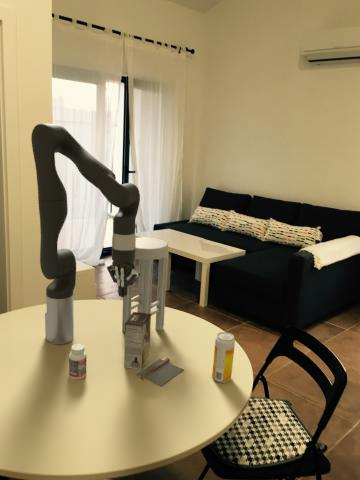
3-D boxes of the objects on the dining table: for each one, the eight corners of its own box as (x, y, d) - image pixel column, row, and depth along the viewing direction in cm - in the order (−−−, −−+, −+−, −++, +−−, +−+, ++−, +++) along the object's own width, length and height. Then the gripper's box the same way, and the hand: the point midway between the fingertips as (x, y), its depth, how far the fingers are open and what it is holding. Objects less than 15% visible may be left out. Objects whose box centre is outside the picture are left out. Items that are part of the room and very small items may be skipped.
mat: (136, 374, 143) (136, 373, 143) (159, 359, 153) (159, 358, 153) (161, 386, 138) (161, 385, 138) (183, 370, 148) (183, 369, 147)
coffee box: (131, 353, 156) (133, 310, 151) (149, 356, 155) (151, 313, 150) (123, 367, 147) (124, 322, 143) (142, 370, 146) (144, 325, 142)
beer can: (232, 375, 146) (237, 333, 142) (228, 385, 141) (232, 342, 136) (214, 371, 148) (218, 329, 144) (209, 380, 142) (213, 338, 138)
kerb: (140, 378, 141) (140, 375, 141) (167, 360, 152) (167, 357, 152) (143, 380, 141) (143, 376, 140) (169, 361, 152) (169, 358, 151)
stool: (170, 328, 175) (176, 242, 166) (147, 343, 163) (151, 251, 153) (139, 317, 183) (142, 234, 174) (114, 331, 171) (116, 242, 161)
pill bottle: (80, 381, 138) (80, 352, 135) (65, 377, 140) (65, 349, 137) (89, 372, 143) (89, 344, 140) (74, 368, 145) (74, 341, 142)
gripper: (100, 244, 145) (100, 294, 149) (131, 252, 138) (130, 305, 142) (116, 239, 151) (115, 288, 155) (147, 247, 144) (145, 298, 148)
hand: (122, 296), depth 149 cm, fingers closed
